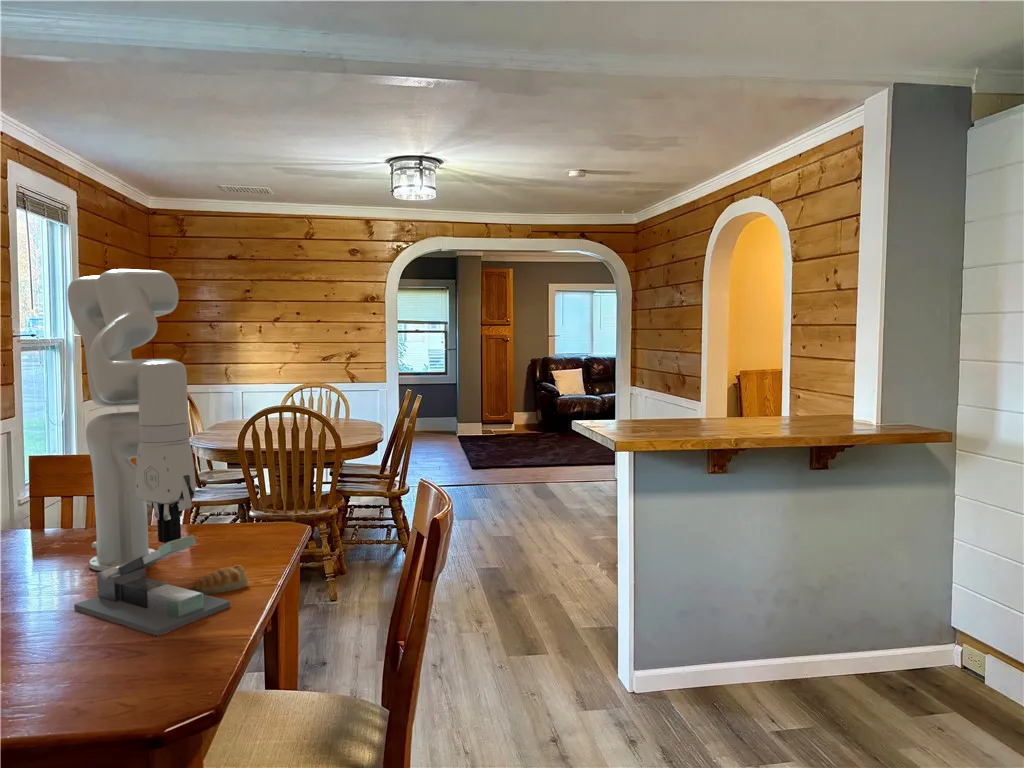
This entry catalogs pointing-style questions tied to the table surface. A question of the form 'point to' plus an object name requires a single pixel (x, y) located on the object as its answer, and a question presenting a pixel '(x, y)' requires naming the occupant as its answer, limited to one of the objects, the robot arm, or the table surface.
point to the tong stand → (148, 593)
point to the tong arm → (158, 554)
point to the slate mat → (146, 614)
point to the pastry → (222, 580)
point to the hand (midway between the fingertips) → (169, 540)
